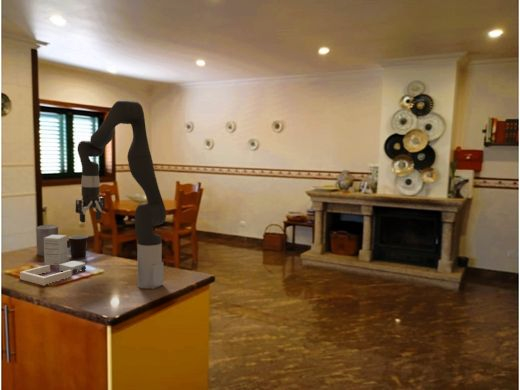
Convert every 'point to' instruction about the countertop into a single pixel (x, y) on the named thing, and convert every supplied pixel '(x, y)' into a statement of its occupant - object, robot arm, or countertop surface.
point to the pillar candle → (42, 233)
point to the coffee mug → (78, 246)
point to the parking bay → (35, 278)
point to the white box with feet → (72, 266)
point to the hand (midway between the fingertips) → (90, 221)
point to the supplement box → (55, 249)
